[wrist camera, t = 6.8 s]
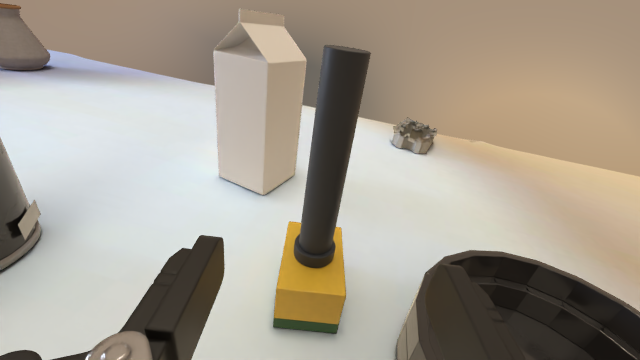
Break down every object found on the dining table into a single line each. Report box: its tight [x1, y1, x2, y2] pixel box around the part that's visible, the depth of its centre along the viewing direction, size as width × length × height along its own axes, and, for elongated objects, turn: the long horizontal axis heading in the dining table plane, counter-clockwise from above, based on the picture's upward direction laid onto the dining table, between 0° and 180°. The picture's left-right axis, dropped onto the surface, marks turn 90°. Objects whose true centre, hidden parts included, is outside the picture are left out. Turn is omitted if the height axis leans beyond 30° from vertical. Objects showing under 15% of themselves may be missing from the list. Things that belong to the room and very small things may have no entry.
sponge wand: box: [273, 45, 371, 333], centre depth 19 cm, size 7×4×18 cm, turn 179°
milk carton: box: [214, 9, 307, 195], centre depth 33 cm, size 7×7×19 cm
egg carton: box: [392, 117, 437, 154], centre depth 57 cm, size 11×8×4 cm
